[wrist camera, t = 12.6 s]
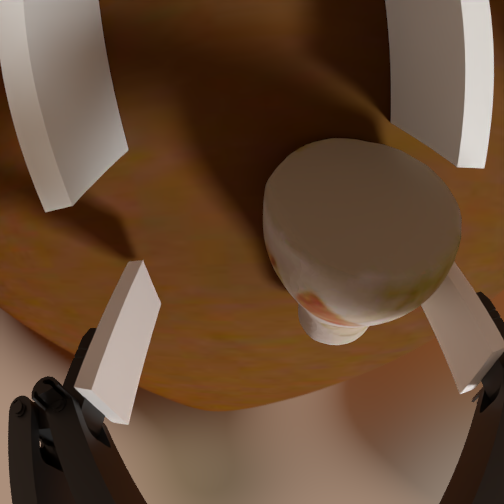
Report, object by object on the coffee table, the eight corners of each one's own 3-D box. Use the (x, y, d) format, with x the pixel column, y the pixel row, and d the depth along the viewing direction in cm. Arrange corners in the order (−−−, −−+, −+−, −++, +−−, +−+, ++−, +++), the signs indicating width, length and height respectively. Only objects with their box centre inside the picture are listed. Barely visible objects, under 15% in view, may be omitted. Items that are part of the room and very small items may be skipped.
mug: (271, 314, 18) (228, 418, 9) (288, 151, 16) (255, 87, 7) (388, 327, 17) (441, 433, 7) (412, 169, 15) (510, 136, 5)
